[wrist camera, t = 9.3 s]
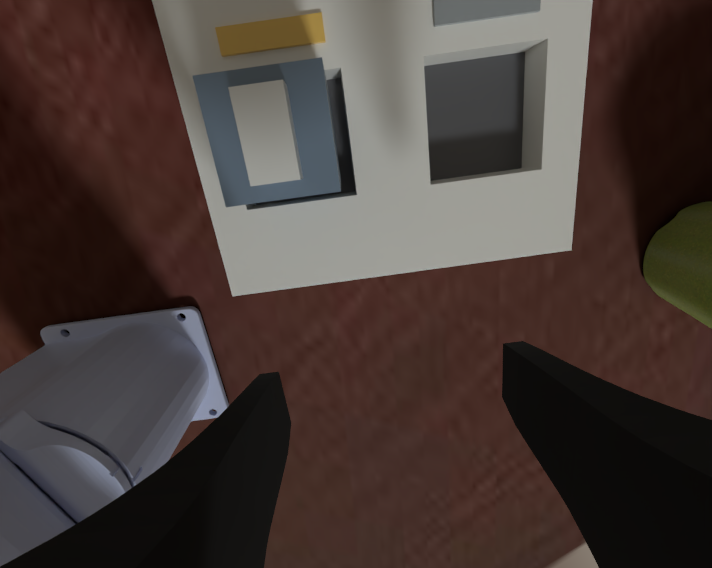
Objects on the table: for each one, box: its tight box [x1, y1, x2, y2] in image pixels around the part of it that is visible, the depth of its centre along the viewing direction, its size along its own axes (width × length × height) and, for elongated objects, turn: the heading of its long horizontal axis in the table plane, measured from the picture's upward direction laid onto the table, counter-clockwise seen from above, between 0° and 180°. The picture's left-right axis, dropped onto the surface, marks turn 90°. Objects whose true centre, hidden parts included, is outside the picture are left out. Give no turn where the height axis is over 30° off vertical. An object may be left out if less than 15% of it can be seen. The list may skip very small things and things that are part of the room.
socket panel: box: [152, 0, 593, 296], centre depth 17 cm, size 18×14×3 cm
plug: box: [193, 57, 341, 207], centre depth 14 cm, size 4×4×8 cm
